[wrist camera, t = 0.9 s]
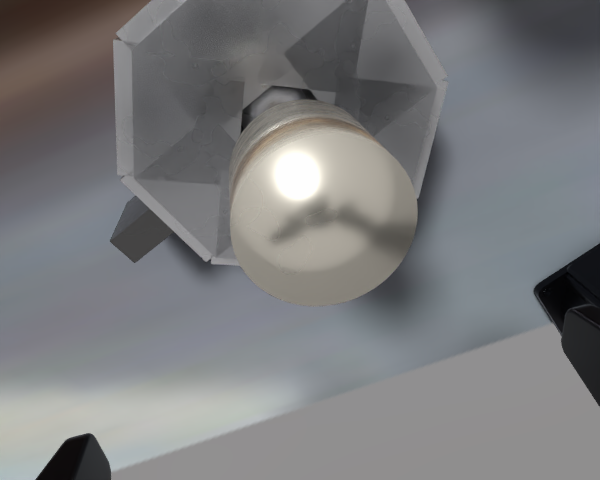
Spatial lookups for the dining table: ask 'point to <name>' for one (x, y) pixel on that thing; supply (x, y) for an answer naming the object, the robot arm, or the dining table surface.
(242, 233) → the plunger
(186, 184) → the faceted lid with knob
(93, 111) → the dining table surface
